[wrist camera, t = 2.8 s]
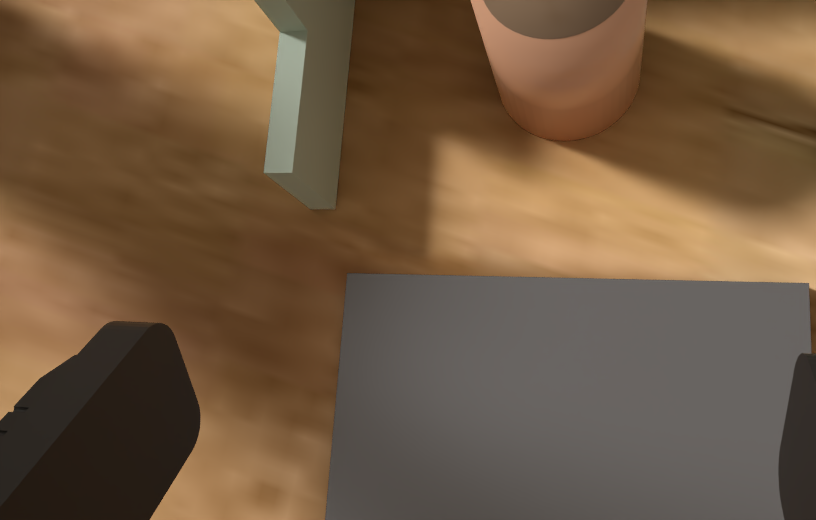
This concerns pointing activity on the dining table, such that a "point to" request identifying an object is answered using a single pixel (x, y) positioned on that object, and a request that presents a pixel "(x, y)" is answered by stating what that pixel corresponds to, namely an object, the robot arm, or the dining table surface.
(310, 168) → the stepped shelf frame
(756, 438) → the charcoal mat
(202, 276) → the dining table surface
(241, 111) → the dining table surface
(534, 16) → the pink and brown cylinder
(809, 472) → the robot arm
